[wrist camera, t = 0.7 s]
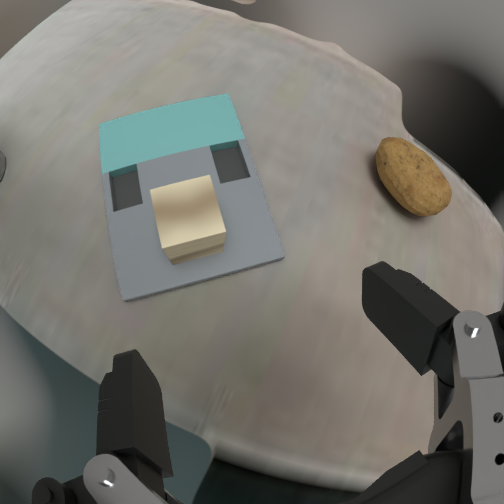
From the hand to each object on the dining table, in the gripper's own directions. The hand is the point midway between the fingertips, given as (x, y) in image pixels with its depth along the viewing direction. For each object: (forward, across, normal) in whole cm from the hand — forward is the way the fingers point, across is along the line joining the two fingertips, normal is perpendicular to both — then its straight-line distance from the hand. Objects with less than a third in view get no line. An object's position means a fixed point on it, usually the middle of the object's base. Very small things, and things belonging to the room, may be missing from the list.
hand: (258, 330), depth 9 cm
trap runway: (+32, +1, +2) cm, 32 cm away
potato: (+28, -31, +10) cm, 43 cm away
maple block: (+26, +2, +7) cm, 27 cm away
